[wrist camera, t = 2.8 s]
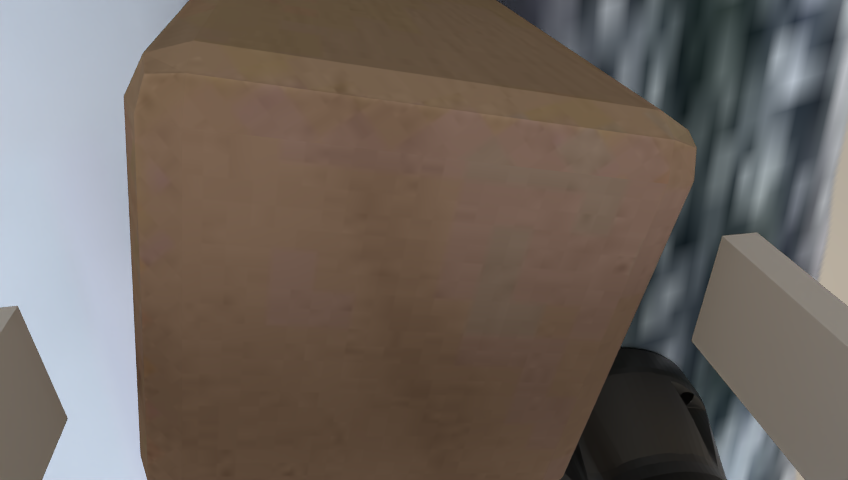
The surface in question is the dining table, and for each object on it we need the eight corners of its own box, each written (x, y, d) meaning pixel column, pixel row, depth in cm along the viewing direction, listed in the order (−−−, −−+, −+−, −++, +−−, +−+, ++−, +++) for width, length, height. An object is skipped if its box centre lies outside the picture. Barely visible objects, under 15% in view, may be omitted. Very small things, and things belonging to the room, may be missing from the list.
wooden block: (228, 154, 30) (131, 526, 13) (237, -72, 25) (102, 46, 8) (427, 176, 32) (565, 513, 15) (470, -28, 27) (741, 137, 10)
